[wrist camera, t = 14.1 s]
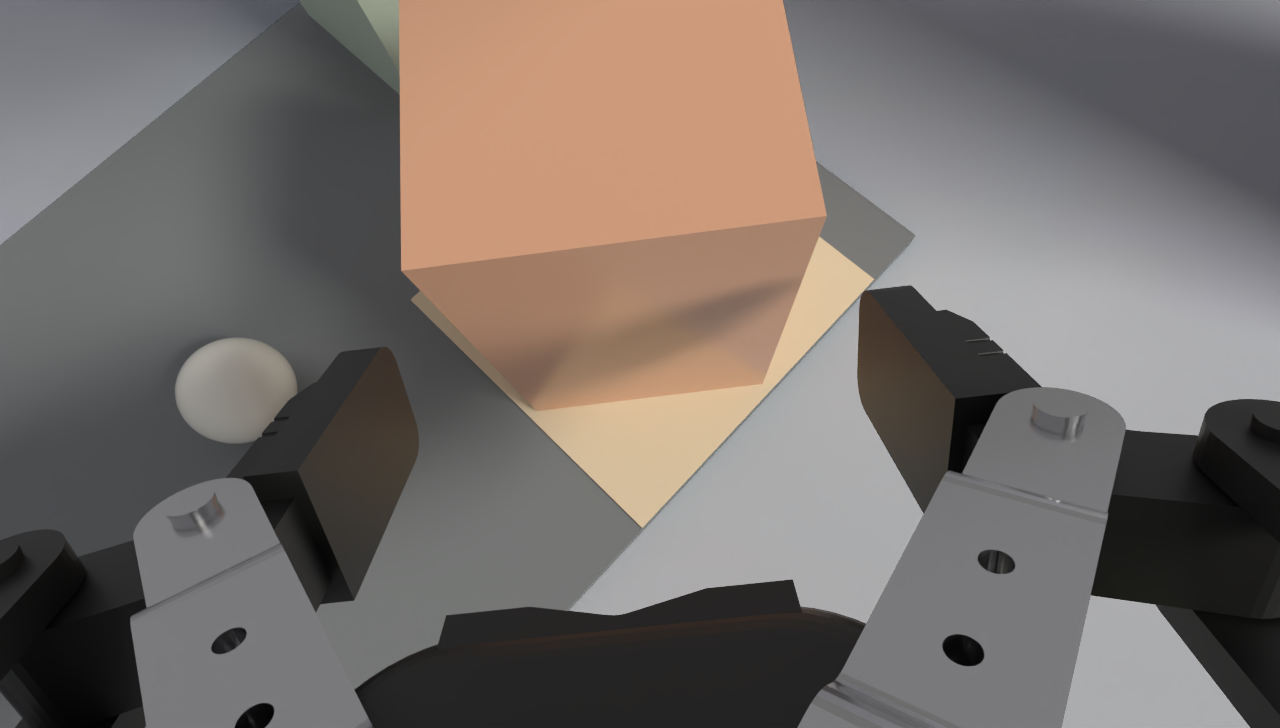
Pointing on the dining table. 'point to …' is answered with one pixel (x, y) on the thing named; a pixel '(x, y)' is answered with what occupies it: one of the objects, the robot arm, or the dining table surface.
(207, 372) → the marble
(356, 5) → the grey-green block
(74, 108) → the dining table surface
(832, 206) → the mat
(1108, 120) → the dining table surface
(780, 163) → the orange block
